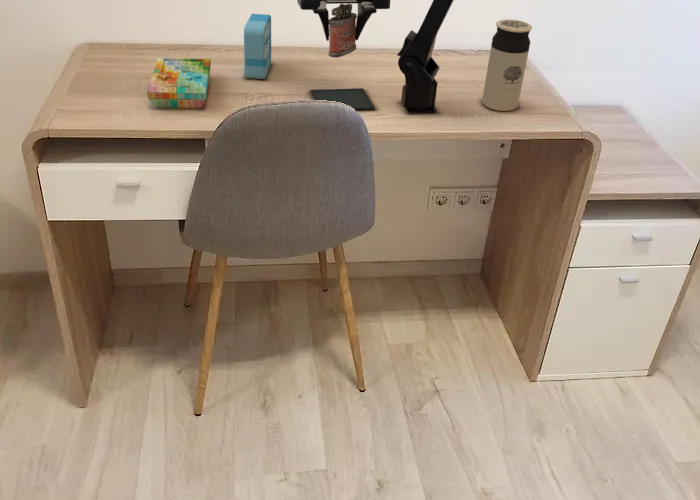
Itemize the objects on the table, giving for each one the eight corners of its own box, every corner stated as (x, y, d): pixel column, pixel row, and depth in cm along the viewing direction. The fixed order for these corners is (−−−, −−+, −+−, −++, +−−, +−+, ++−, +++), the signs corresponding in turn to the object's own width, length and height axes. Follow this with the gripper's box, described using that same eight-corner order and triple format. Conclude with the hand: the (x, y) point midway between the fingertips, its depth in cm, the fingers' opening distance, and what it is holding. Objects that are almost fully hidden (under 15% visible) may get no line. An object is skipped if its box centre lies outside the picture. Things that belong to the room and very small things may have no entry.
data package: (264, 81, 170) (263, 29, 163) (244, 79, 170) (243, 27, 163) (271, 63, 180) (271, 13, 173) (252, 61, 180) (251, 11, 173)
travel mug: (479, 96, 170) (492, 17, 160) (514, 99, 170) (529, 20, 160) (483, 110, 163) (497, 29, 153) (520, 113, 163) (536, 31, 153)
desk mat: (362, 90, 169) (362, 88, 168) (374, 110, 160) (374, 107, 160) (310, 92, 166) (310, 89, 166) (319, 112, 157) (319, 109, 157)
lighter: (347, 45, 164) (347, -1, 159) (359, 48, 163) (360, 2, 157) (325, 55, 159) (324, 8, 153) (337, 58, 157) (337, 10, 152)
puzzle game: (146, 88, 151) (157, 54, 167) (148, 109, 153) (159, 74, 170) (205, 89, 152) (210, 55, 169) (206, 110, 155) (211, 75, 171)
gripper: (380, -46, 159) (375, 27, 168) (293, -46, 155) (293, 28, 164) (393, -33, 150) (387, 43, 159) (301, -33, 146) (300, 45, 155)
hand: (341, 39), depth 159 cm, fingers closed on lighter, 6 cm apart
